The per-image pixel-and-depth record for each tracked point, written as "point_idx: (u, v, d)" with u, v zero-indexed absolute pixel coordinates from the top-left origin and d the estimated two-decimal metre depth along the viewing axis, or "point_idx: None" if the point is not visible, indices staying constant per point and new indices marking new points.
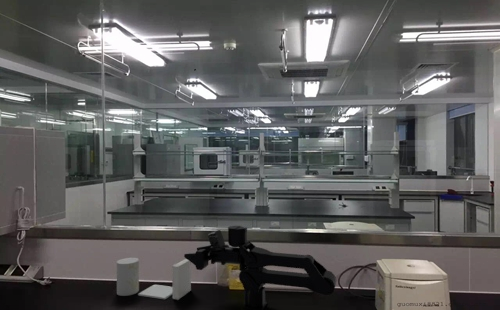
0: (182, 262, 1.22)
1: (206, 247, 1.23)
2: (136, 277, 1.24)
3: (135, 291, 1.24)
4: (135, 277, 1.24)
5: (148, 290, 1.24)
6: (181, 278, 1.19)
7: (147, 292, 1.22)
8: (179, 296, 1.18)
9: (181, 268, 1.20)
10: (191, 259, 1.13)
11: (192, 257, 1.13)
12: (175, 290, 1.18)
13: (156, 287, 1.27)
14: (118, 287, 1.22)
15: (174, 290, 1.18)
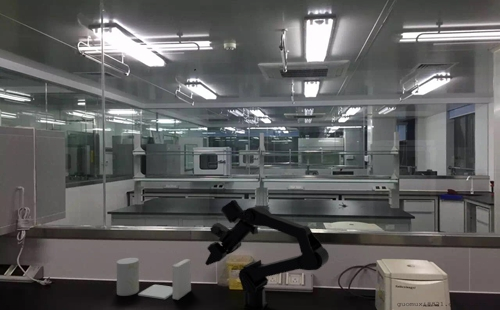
0: (182, 262, 1.22)
1: None
2: (136, 277, 1.24)
3: (135, 291, 1.24)
4: (135, 277, 1.24)
5: (148, 290, 1.24)
6: (181, 278, 1.19)
7: (147, 292, 1.22)
8: (179, 296, 1.18)
9: (181, 268, 1.20)
10: (212, 261, 1.12)
11: (211, 258, 1.12)
12: (175, 290, 1.18)
13: (156, 287, 1.27)
14: (118, 287, 1.22)
15: (174, 290, 1.18)
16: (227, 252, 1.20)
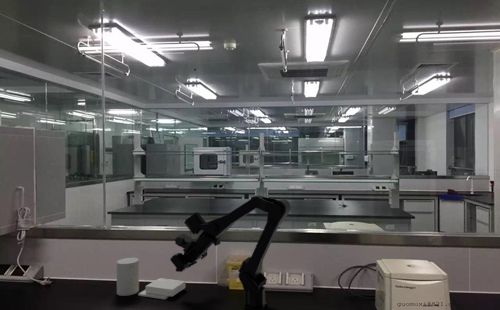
0: None
1: None
2: (136, 277, 1.24)
3: (135, 291, 1.24)
4: (135, 277, 1.24)
5: None
6: (160, 285, 1.22)
7: None
8: (171, 288, 1.19)
9: (152, 284, 1.24)
10: None
11: None
12: (165, 291, 1.19)
13: None
14: (118, 287, 1.22)
15: (165, 293, 1.19)
16: None
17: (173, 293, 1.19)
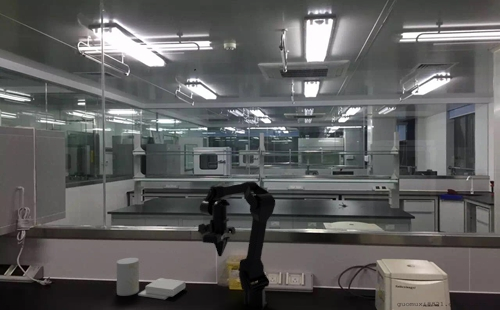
0: None
1: None
2: (136, 277, 1.24)
3: (135, 291, 1.24)
4: (135, 277, 1.24)
5: None
6: (160, 285, 1.22)
7: None
8: (171, 288, 1.19)
9: (152, 284, 1.24)
10: (220, 248, 1.25)
11: (218, 246, 1.25)
12: (165, 291, 1.19)
13: None
14: (118, 287, 1.22)
15: (165, 293, 1.19)
16: None
17: (173, 293, 1.19)
